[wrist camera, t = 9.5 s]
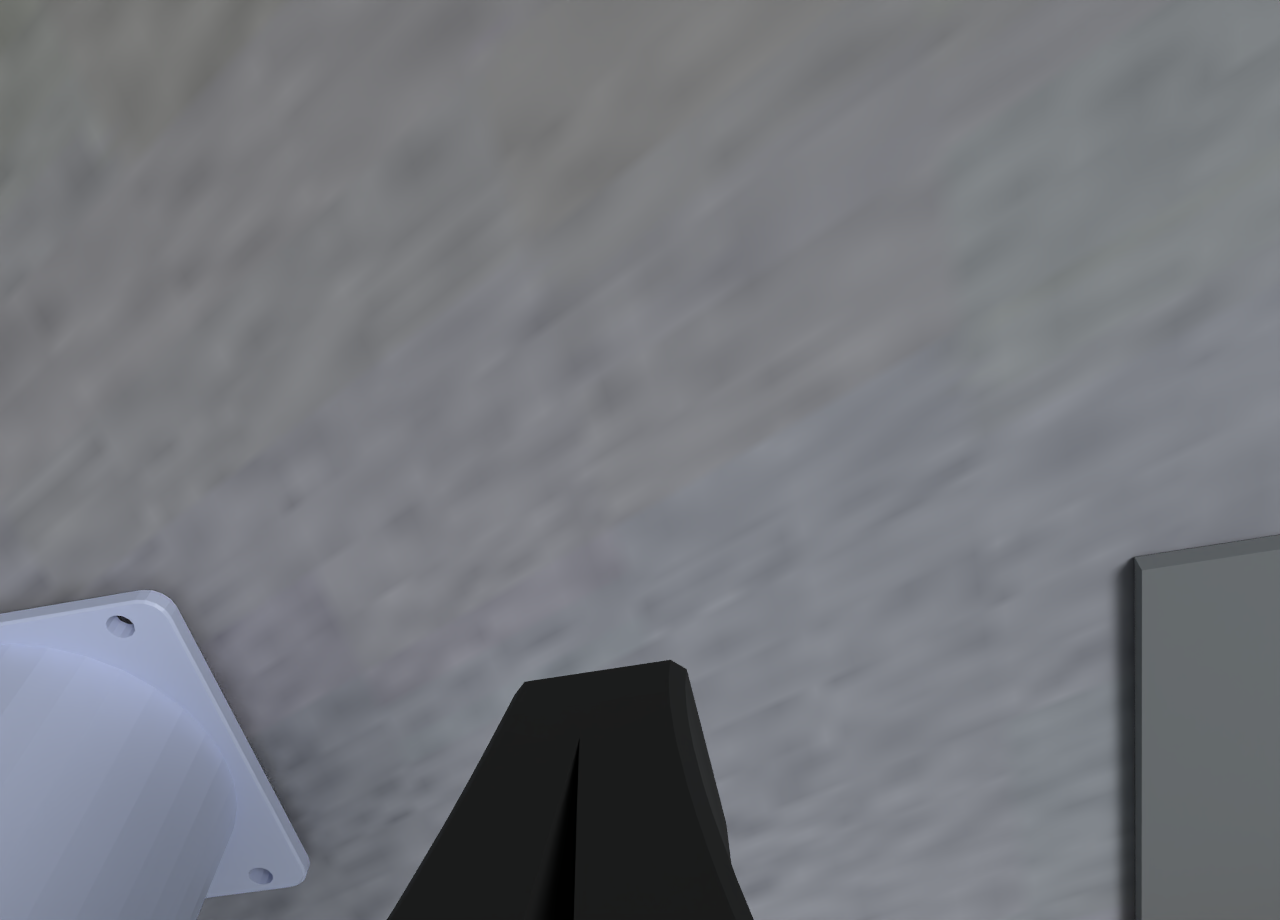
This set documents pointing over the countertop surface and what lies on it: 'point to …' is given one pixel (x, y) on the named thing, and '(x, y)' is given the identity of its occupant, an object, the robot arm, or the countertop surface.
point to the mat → (1208, 732)
